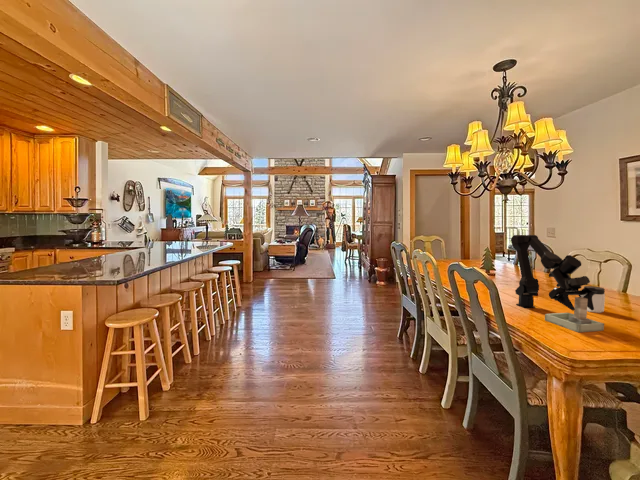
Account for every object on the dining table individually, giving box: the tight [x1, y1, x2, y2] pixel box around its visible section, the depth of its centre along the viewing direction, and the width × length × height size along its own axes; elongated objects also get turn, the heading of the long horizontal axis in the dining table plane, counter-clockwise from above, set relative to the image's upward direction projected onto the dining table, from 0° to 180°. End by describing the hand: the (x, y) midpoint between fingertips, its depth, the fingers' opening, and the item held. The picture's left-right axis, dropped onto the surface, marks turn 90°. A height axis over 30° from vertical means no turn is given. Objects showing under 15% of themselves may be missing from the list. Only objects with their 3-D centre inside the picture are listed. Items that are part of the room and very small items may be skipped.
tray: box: [544, 312, 605, 333], centre depth 142 cm, size 16×13×3 cm
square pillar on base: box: [569, 296, 593, 325], centre depth 138 cm, size 6×5×12 cm
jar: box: [583, 285, 606, 314], centre depth 164 cm, size 9×8×12 cm
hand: (583, 310), depth 137 cm, fingers open, 8 cm apart
